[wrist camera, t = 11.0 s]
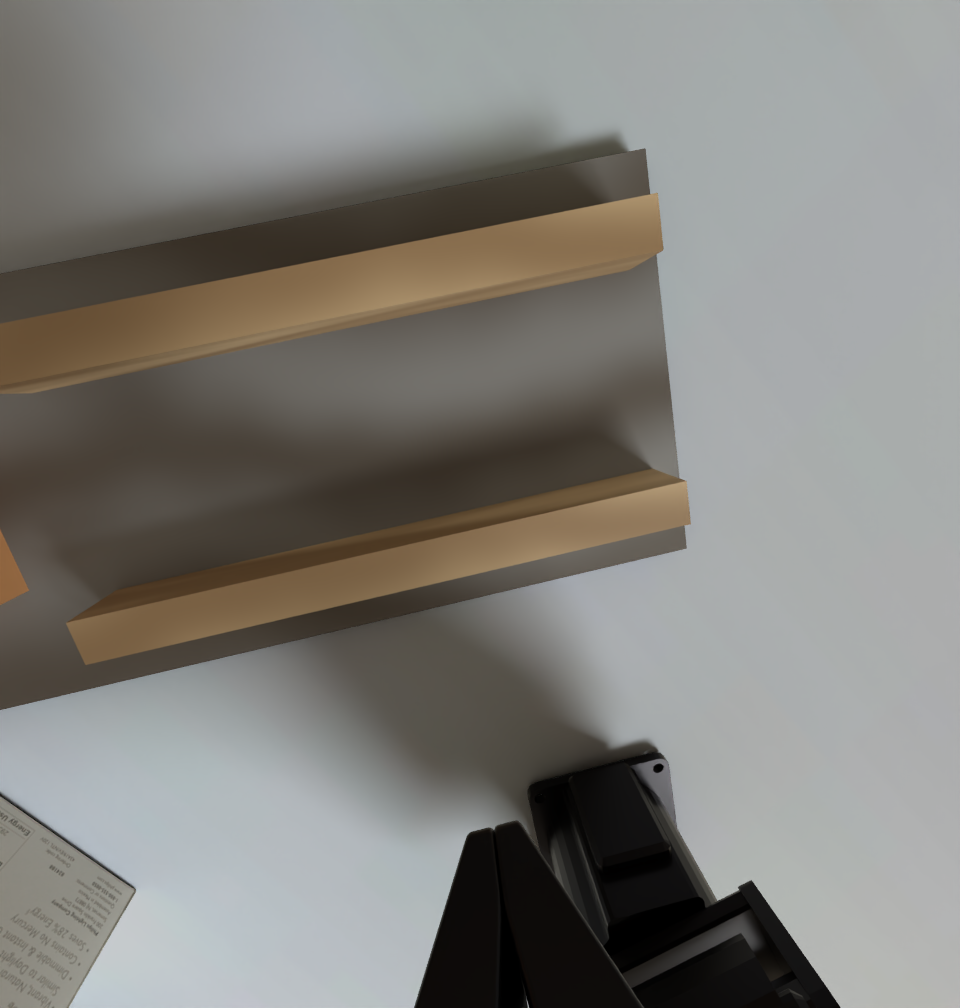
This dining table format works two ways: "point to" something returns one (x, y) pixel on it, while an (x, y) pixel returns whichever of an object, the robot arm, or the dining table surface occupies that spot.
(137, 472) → the chute
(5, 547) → the orange block
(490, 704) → the dining table surface
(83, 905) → the light bulb box
